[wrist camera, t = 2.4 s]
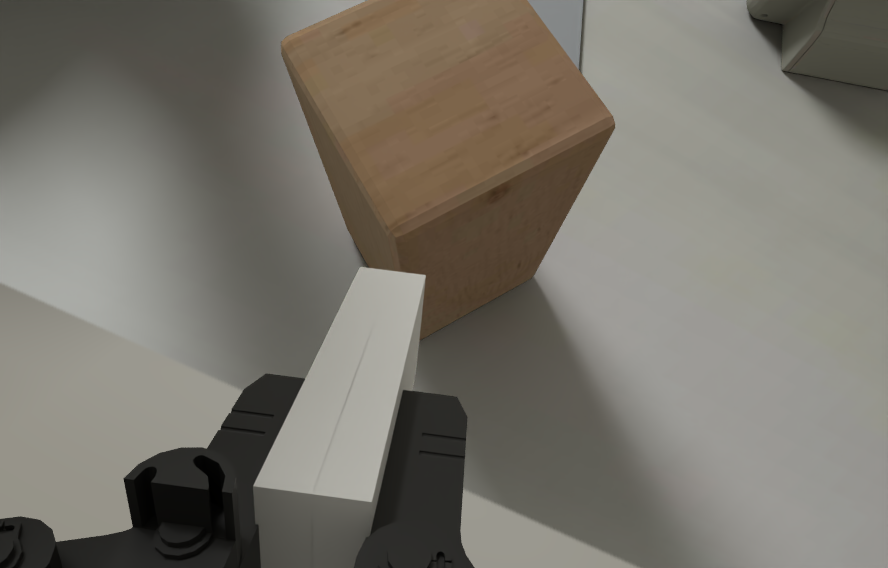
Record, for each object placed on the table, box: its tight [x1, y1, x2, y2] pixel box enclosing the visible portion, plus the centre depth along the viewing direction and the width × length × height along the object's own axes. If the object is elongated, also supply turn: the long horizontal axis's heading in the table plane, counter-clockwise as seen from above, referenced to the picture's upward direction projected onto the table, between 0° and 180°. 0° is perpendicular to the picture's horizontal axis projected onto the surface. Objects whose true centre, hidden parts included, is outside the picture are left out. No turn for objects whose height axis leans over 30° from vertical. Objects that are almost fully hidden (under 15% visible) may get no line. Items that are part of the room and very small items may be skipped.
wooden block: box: [281, 0, 615, 341], centre depth 32 cm, size 10×10×20 cm
